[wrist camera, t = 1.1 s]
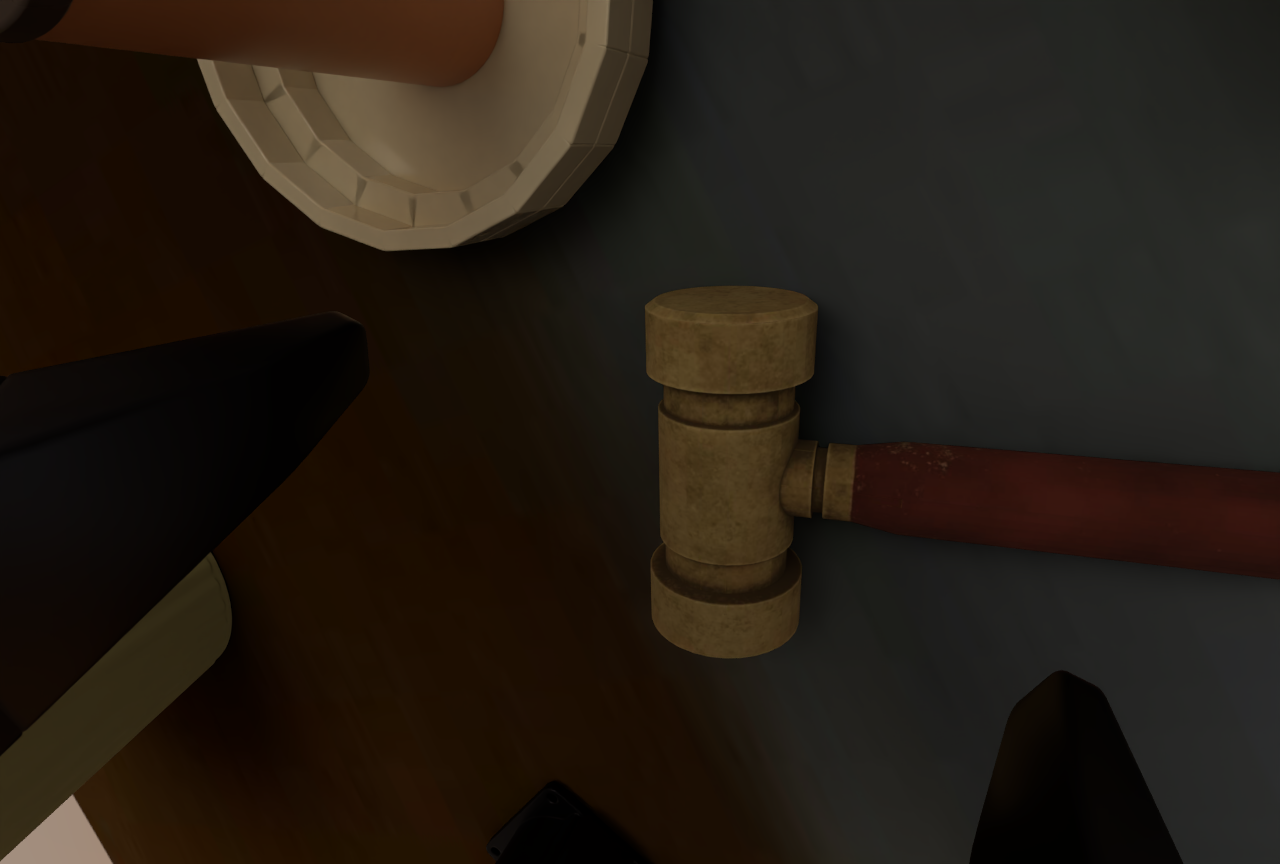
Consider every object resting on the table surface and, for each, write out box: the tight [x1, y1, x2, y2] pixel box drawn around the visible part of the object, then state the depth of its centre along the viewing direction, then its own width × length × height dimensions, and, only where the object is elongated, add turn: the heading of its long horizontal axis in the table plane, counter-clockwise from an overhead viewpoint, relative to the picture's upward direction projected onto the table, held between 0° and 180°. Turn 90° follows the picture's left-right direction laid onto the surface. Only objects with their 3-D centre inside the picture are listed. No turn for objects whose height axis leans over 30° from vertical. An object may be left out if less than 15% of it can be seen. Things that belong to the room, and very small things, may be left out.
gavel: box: [645, 286, 1280, 658], centre depth 19 cm, size 21×5×10 cm
